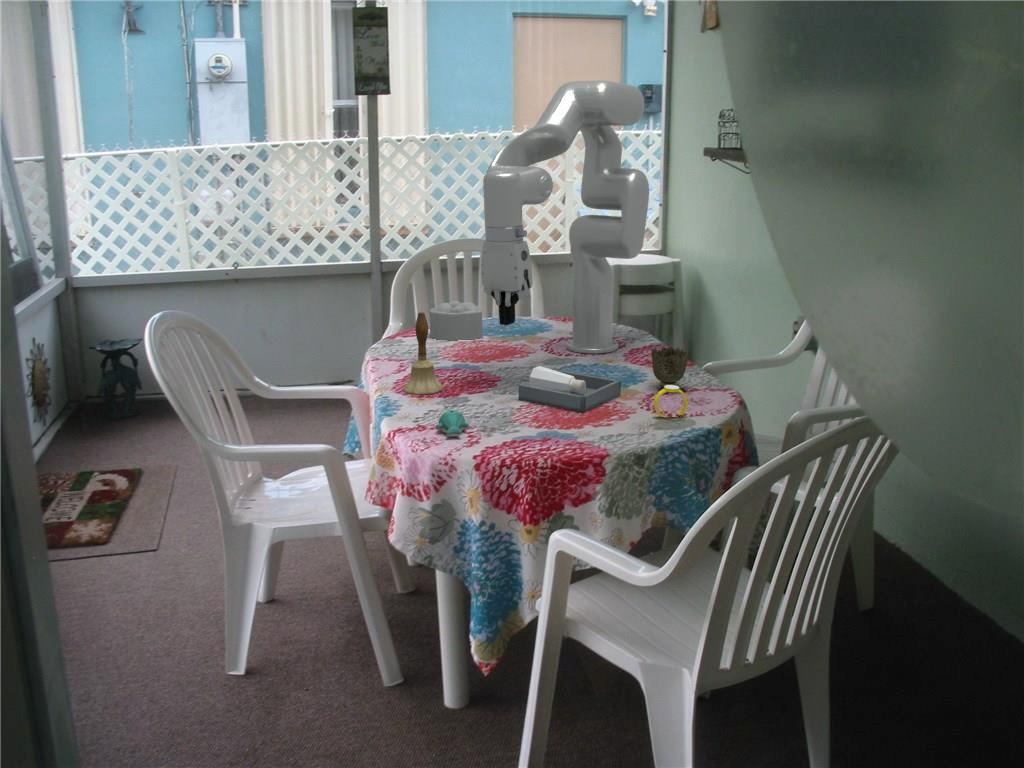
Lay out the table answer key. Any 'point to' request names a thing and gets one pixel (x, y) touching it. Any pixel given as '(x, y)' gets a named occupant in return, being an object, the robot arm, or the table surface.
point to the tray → (593, 396)
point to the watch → (670, 389)
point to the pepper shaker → (555, 381)
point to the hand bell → (422, 364)
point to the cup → (669, 365)
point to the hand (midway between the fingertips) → (507, 323)
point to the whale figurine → (452, 423)
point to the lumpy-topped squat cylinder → (456, 321)
